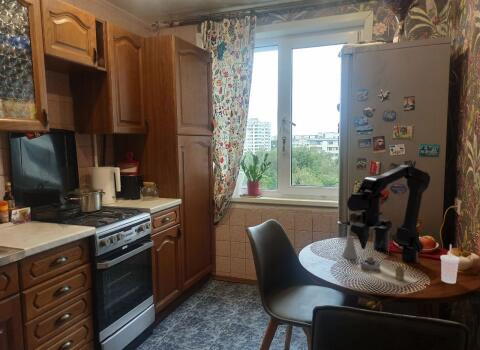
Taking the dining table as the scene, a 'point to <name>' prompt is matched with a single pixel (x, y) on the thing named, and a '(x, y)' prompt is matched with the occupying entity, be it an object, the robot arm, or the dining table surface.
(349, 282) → the dining table surface
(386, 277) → the base board
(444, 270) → the beverage cup
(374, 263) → the steel ring
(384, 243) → the supplement bottle
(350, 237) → the flask
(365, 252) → the dining table surface
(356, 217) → the robot arm
